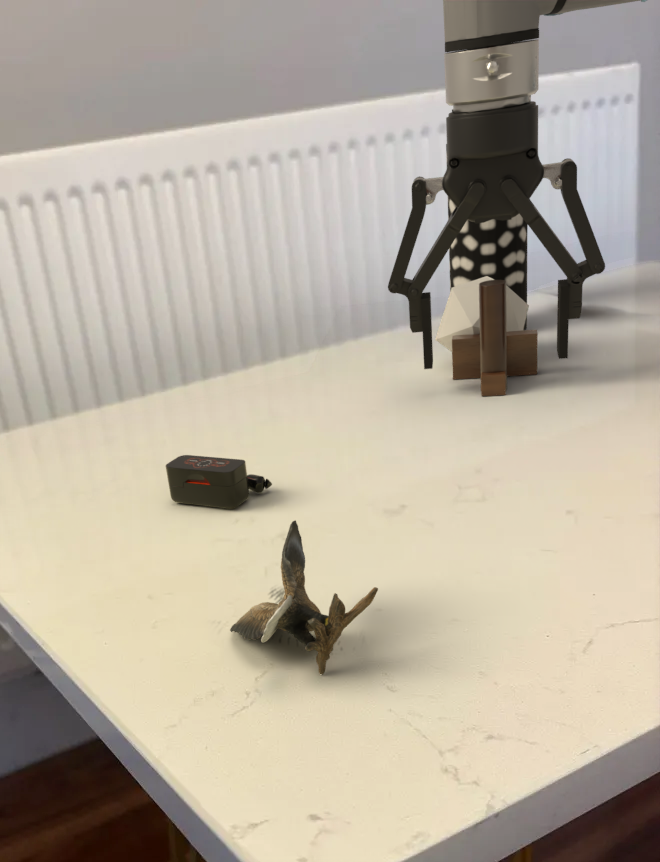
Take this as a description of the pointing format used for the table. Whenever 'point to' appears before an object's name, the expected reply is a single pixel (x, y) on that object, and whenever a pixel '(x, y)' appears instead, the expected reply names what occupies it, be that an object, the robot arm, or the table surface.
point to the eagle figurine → (300, 608)
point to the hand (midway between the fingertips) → (494, 360)
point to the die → (475, 312)
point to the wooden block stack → (494, 345)
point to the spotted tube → (490, 253)
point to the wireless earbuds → (212, 481)
